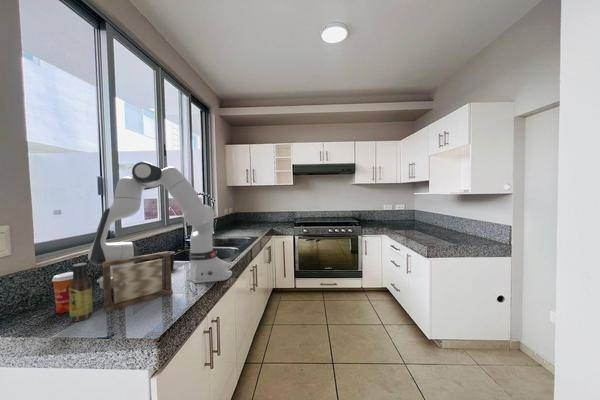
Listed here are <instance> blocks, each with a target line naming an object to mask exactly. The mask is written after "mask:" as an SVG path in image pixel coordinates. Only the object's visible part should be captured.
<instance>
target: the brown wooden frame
mask: <svg viewBox="0 0 600 400" xmlns="http://www.w3.org/2000/svg"><path fill="white" fill-rule="evenodd" d="M170 252H171V251H168V250H166V251H161V252H156V253H150V254H144V255H138V256H137V257H131V258H125V259H119V260H113V261H107V262H103V265H102V276H103V288H102V290H103V304H102V305H103V309H104V311H105V312H106V313H108V312H111V311H115V310H118V309H122V308H126V307H129V306H133V305H136V304H140V303H143V302H147V301H149V300H153V299H157V298H160V297H163V296H166V295H171V294H173V293H174V291H173V289H172V270H171V263H170ZM163 256H164V269H165V290H163V291H159V292H156V293H152V294H148V295H145V296H141V297H137V298H134V299H130V300H126V301H123V302H119V303H114V301H112V287H111V273H110V266H113V265H118V264H124V263H130V262H135V261H136V262H140V261H145V260H152V258H153V259H154V258H155V259H156V258H158V257H163Z"/></svg>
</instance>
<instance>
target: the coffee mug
mask: <svg viewBox="0 0 600 400" xmlns="http://www.w3.org/2000/svg"><path fill="white" fill-rule="evenodd" d="M169 252H170V263H171V271H173V270H174V267H175V266H174V265H175V255H176V252H175V251H169ZM157 258H158V259H164V256H163V257H157ZM153 260H154V258H152V259H151V261H153Z"/></svg>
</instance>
